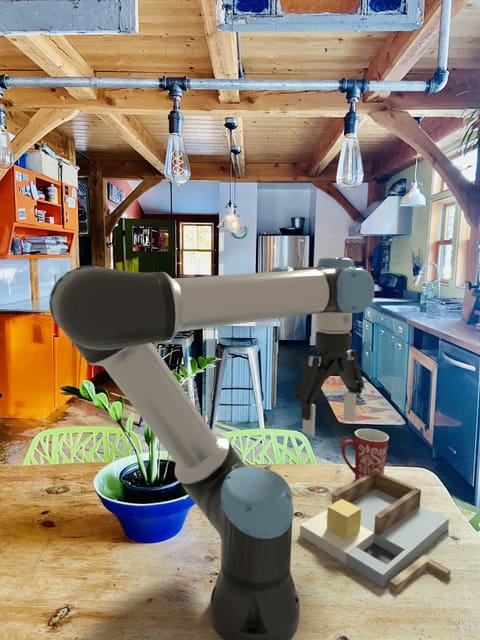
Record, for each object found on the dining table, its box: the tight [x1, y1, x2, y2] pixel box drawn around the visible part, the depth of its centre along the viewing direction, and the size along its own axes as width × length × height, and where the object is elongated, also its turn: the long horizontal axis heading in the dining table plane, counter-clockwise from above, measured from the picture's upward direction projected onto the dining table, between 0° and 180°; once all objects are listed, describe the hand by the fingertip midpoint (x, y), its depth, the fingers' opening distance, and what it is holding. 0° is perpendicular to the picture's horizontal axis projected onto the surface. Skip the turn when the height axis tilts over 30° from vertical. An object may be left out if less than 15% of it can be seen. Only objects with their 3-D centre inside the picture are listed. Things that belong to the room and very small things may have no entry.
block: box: [327, 499, 361, 540], centre depth 92 cm, size 5×5×5 cm
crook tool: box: [388, 554, 452, 593], centre depth 80 cm, size 12×5×1 cm, turn 128°
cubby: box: [331, 471, 422, 535], centre depth 100 cm, size 18×12×4 cm
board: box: [299, 489, 450, 588], centre depth 95 cm, size 28×20×2 cm
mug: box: [340, 428, 390, 481], centre depth 118 cm, size 13×9×14 cm
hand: (329, 426), depth 94 cm, fingers open, 13 cm apart
